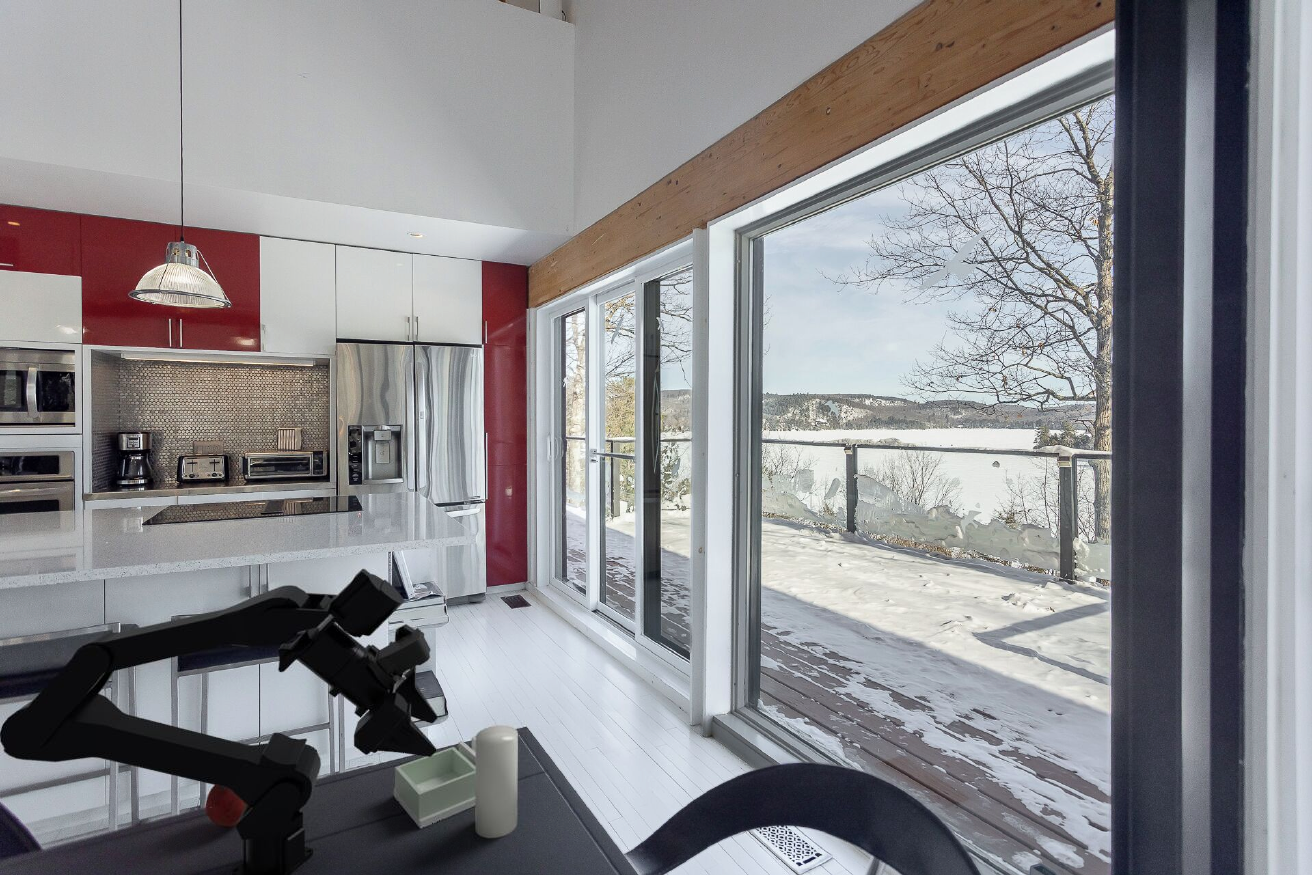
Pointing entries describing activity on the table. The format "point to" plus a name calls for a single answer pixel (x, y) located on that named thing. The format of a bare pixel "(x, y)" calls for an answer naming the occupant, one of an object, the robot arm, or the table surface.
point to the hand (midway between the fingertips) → (434, 735)
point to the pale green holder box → (437, 784)
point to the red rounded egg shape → (224, 806)
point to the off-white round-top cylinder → (496, 781)
